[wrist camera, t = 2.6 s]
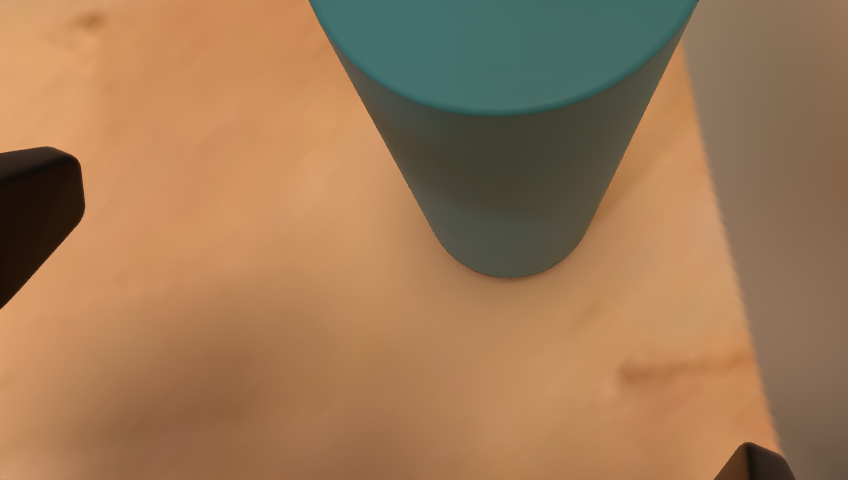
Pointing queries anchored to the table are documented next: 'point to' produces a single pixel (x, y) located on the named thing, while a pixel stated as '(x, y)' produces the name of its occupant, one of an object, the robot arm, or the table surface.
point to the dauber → (506, 110)
